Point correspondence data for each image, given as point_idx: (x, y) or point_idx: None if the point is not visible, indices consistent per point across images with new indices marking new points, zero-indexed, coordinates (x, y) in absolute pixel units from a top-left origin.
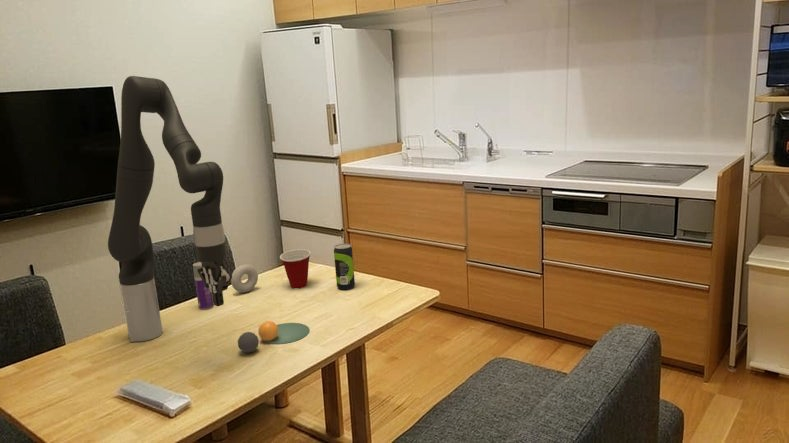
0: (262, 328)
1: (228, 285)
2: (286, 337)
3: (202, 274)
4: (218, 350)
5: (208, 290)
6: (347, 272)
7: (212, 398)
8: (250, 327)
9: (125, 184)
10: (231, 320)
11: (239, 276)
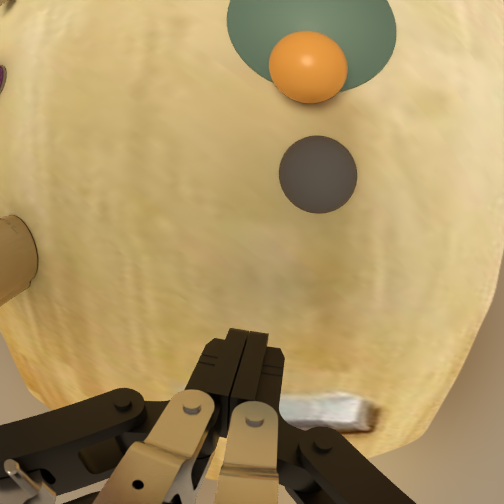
0: (312, 90)
1: (376, 470)
2: (348, 40)
3: (57, 493)
4: (213, 213)
5: None
6: None
7: (401, 378)
8: (164, 49)
9: None
10: (81, 65)
11: None
